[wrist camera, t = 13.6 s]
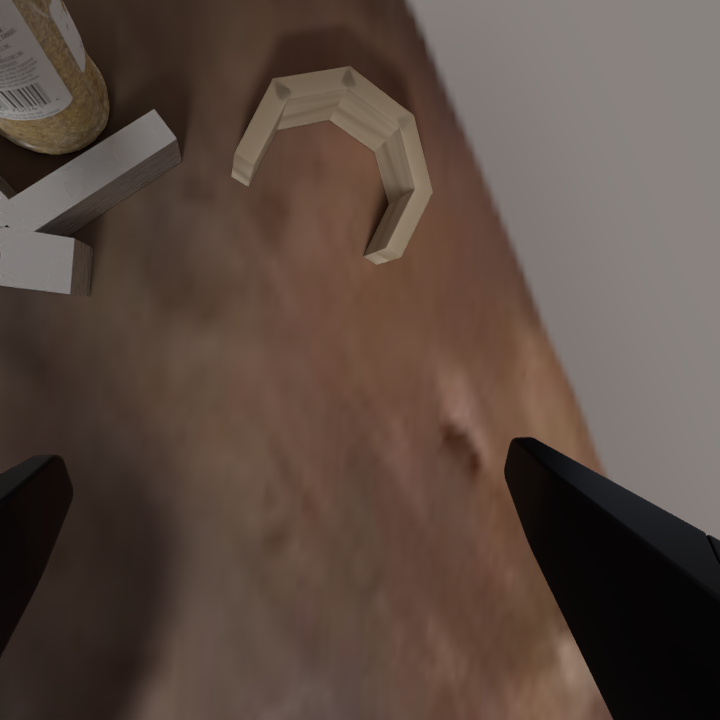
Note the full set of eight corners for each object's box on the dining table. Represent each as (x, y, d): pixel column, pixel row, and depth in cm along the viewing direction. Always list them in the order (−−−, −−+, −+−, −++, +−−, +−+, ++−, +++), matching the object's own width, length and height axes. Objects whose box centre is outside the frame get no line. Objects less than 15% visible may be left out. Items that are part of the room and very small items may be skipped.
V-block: (168, 306, 19) (161, 305, 16) (-134, 268, 16) (-196, 260, 13) (183, 140, 18) (179, 115, 16) (-124, 65, 15) (-187, 19, 13)
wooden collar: (376, 264, 22) (401, 257, 19) (231, 176, 19) (233, 152, 16) (424, 168, 22) (455, 147, 19) (286, 68, 19) (299, 26, 17)
